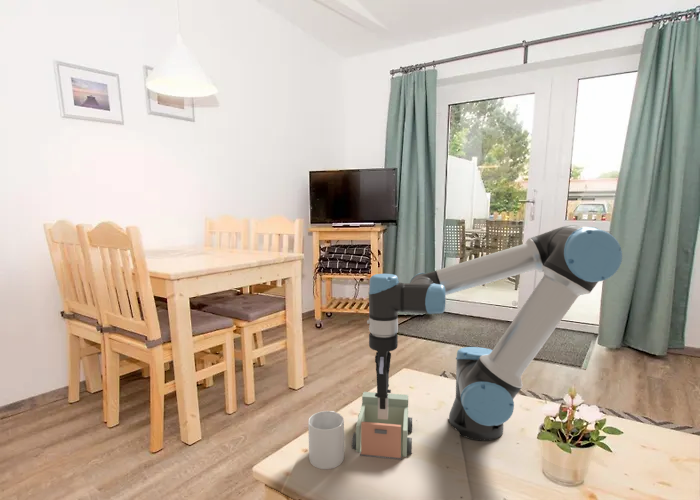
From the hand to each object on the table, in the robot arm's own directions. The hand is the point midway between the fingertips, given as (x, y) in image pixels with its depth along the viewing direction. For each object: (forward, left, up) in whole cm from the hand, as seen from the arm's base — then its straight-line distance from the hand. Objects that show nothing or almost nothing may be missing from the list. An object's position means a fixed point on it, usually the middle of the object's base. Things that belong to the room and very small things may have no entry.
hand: (382, 417), depth 105 cm
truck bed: (0, -1, -7) cm, 8 cm away
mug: (+13, +8, -8) cm, 17 cm away
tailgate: (0, +7, -6) cm, 9 cm away
